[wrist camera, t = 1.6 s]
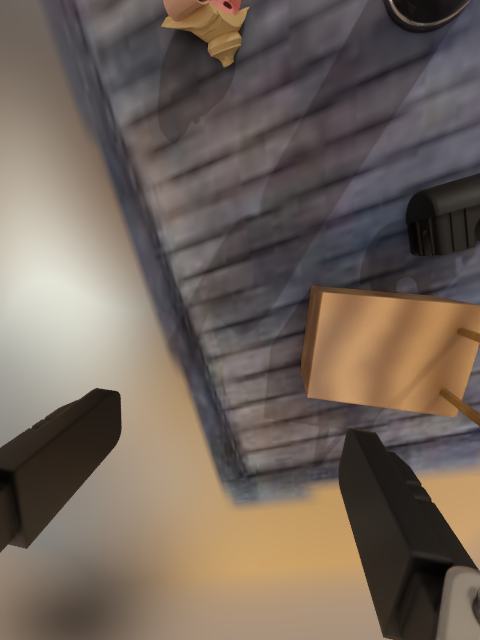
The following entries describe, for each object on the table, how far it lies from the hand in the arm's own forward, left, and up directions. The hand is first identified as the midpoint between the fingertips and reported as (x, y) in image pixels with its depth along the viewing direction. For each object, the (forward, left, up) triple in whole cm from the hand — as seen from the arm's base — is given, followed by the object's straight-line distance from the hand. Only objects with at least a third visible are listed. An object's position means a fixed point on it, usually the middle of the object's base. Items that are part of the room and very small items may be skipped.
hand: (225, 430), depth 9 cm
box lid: (-9, +12, -21) cm, 26 cm away
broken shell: (-15, -30, -28) cm, 44 cm away
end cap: (-25, +5, -28) cm, 38 cm away
